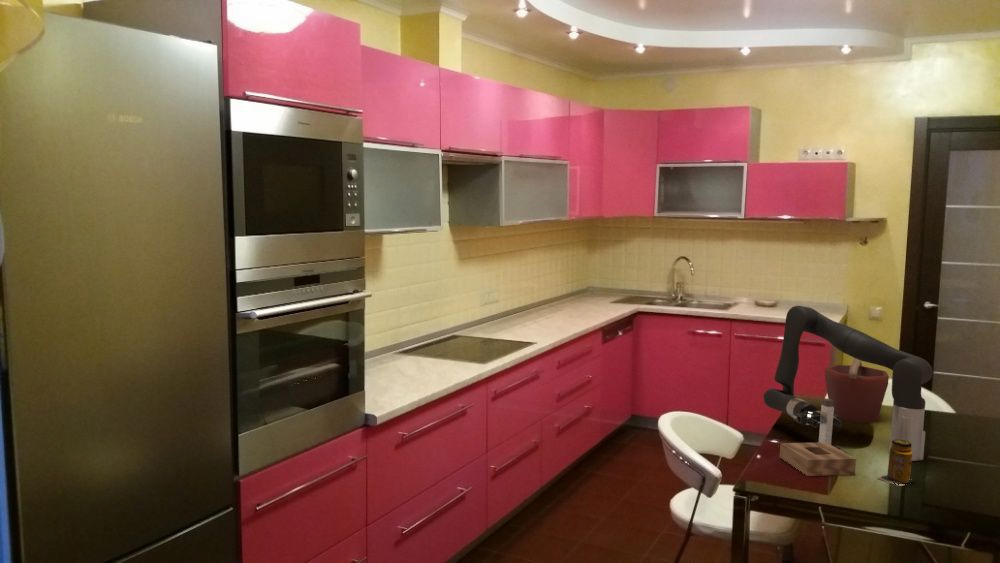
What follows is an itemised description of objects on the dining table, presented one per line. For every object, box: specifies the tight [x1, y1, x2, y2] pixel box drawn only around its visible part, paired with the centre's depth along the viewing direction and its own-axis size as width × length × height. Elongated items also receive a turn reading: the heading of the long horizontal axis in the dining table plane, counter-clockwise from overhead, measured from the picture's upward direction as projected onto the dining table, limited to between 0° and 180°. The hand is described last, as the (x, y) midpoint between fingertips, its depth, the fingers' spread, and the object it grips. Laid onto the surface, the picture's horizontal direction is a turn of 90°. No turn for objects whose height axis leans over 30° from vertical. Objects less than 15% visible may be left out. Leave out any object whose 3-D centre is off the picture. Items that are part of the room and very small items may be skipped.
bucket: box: [824, 357, 890, 424], centre depth 293 cm, size 24×22×25 cm
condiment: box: [877, 439, 913, 487], centre depth 224 cm, size 7×8×12 cm
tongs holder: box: [779, 442, 857, 477], centre depth 235 cm, size 16×16×5 cm
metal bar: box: [816, 398, 834, 445], centre depth 248 cm, size 3×4×18 cm, turn 8°
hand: (828, 424), depth 247 cm, fingers open, 8 cm apart
